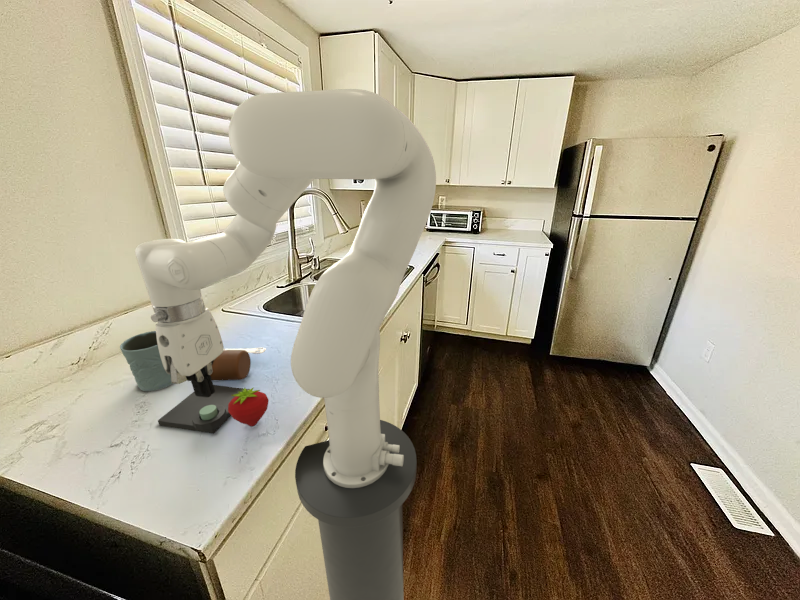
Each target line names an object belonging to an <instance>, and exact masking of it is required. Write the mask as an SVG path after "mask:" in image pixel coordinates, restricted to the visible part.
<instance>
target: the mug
mask: <svg viewBox="0 0 800 600" xmlns="http://www.w3.org/2000/svg"><path fill="white" fill-rule="evenodd" d="M251 363H252V361H251V356H250V353H248V352H247V351H245V350H223V352H222V353H221V354H220V355H219V356H218V357H217V358H216V359H215V360H214V362H213V365H212V370H213V372H212V374H211V375H210V376H211V379H212V382H213V381H214V382H215V381H217V382H218V381H242V380H245V379H246V378H247V377H248V375H249V374H250V370H251V365H252V364H251Z"/></svg>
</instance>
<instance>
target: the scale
mask: <svg viewBox="0 0 800 600" xmlns="http://www.w3.org/2000/svg"><path fill="white" fill-rule="evenodd" d="M213 386H214V389H215V392H214V393H213V394H211V396H210V397H200V396H196V395H195V392H194V391H193V392H192V393H191V394H189V395H188V396H187V397H186V398H184V399H182V401H180V402H179V403H178V404H177V405H175V406H174V407H173V408H171V409H170V410H169V411H167V412H166V413H165V414H164V415H163V416H161V418H159V419H157V423H158V426H159V427H164V428H165V427H166V428H173V429H179V430H186V431H192V432H197V433H207V434H213V435H214V434H215V433H216V432H217V431H218V430H219V429H221V427H223V425H224V424H225V423H226V422H227V421H228V420H229V419H230V418H232V416H231V415H230V413H229V412H228V404H229V403H230V401H231V400H232V399H233V398H234V397H235V396H231V395H234V394H238V393H239V392H242V391H243V390H244V388H245V387H244V388H243V387H234V386H228V385H227V386H226V385H219V384H213ZM242 388H243V390H242ZM246 389H247V391H248V390H250V389H251V388H246ZM208 405H215V406H216V408H217V412H218V414H217V416H215V417H214V418H212V419H209V420H202V419H201V416H200V413H199V412H200V410H201V409H202V408H203V407H205V406H208Z"/></svg>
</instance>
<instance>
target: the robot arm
mask: <svg viewBox="0 0 800 600" xmlns="http://www.w3.org/2000/svg"><path fill="white" fill-rule="evenodd" d="M228 141H229V145H230V149H231V151H232V153H233V155H234V157H235V159H236V160H237V161H238V164H237V165H236V167H235V168H234V169H233V171H232V172H231V174H230V175H229V176H228V177H227V178H226V180H225V182H224V184H223V189H222V191H223V196H224V198H225V201H226V202H227V203H228V205H229V206H230V208H231V209H232V210H233V211H234V212H235V213H236V215H235V216H234V218H233V219H232V220H231V222H230V223H229V224H228V226H226V228H225V229H224V230H223V231H222V232H221V233H219V234H214V235H210V236H206V237H201V238H197V239H195V240H194V239H193V240H190V241H185V240H183V239H180V238H161V239H153V240H147V241H144V242H141V243H139V244H138V245H137V246H136V247H135V248H134V255H135V259H136V261H137V264H138V267H139V270H140V274H141V276H142V280H143V283H144V286H145V289H146V292H147V295H148V298H149V300H150V303H151V307H152V311H153V314H151V316H150V319H151V322H153V323H156V324H155V331H156V337H157V344H158V349H159V353H160V357H161V360H162V364H163V366H164V369H165V371H166V373H167V374H171V382H172V383H173V384H175V385H180V384H183V383H185V382H191V386H192V389H193V392H195V395H196V396H200V397H210V396H211V394H213V393H214V392H215V389H214V386H213V385H214V382H213V381H212V379H211V376H210V375H211V374H212V372H213V370H212V365H213V362H214V360H215V359H216V358H217V357H218V356H219V355H220V354H221V353H222V352H223V350H224V349H225V348H224V342H223V339H222V335H221V332H220V330H219V327H218V324H217V322H216V320H215V318H214V315H213V314H212V312H211V311H210V308H208V307H206V305H205V301H204V298H203V295H202V289H206V288H208V287H211V286H213V285H215V284H217V283H219V282H221V281H223V280H226V279H229V278H231V277H233V276H236V275H238V274H240V273H242V272H244V271H245V270H247V269H248V268H249V267H250V266H251V265H252V264H253V263H254V262H255V261H256V260H257V259H258V258H259V257H260V256H261V254H262V253H263V252H264V251H265V250H266V249H267V248H268V247H269V245H270V244H271V242H272V240H273V238H274V235H275V233H276V230H277V224H278V222H279V220H280V219H281V218H282V217H283V216H284V215H285V214H286V212H288V210H289V209H290V208H291V207H292V205H293V204H294V203H295V202H296V201H297V200H298V198H299V197H300V196H301V195H302V194H303V193H304V192H305V190H307V188H309V186H310V185H311V184H312V183H313V182H314V181H315V180H359V181H360V180H364V181H365V180H374V182H375V183H374V189H373V192H372V195H371V197H370V199H369V201H368V203H367V205H366V207H365V208H364V209H365V210H364V212H363V215H362V217H361V220H360V222H359V226H358V229H357V232H356V234H355V237H354V239H353V242H352V244H351V247H350V248H349V250H348V252H347V253H346V255H344V256H343V257H342V258H340V259H339V260H338V261H336V262H335V263H333V264H332V265H330V266H329V267H328V268H327V269H326V270H325V271H323V273H322V274H321V275H320V276H319V278H318V279H317V281H316V282H315V284H314V286H313V287H312V290H311V293H310V295H309V297H308V300H307V303H306V307H305V309H304V313H303V316H302V318H301V321H300V325H299V327H298V331H297V334H296V336H295V339H294V343H293V347H292V349H291V355H290V369H291V373H292V376H293V378H294V381H295V382H296V384H297V385H298V386H299V387H300V389H301V390H303V391H304V392H305V393H306V394H308V395H310V396H312V397H315V398H318V399H319V398H320V399H324V407H325V416H326V426H327V433H328V434H327V435H328V440H329V443H330V446H329V447H328V448H327V450H326V452H325V454H324V459H323V465H324V471H325V473H326V476H327V477H328V478H329V479H330V480H331V481H332V482H333V483H335V484H337V485H339V486H341V487H345V488H360V487H363V486H367V485H369V484H371V483H373V482H375V481H376V480H378V479H379V478H380V477H381V476H382V475H383V474H384V472H385V471H386V469H387V467H388V465H389V464H392V465H395V466H401V467H402V466H403V461H404V455H400V454H390V453H389V451H391V452H395V453H399V449H400V445H391V444H388V442H385V434H381V431H380V420H381V411H380V381H379V377H380V376H379V367H380V366H379V363H380V349H381V331H380V327H381V326H382V323H383V321H384V319H385V317H386V315H387V314H388V312H389V311H390V309H391V307H392V305H393V304H394V302H395V300H396V298H397V296H398V294H399V290H400V287H401V285H402V282H403V279H404V277H405V274H406V272H407V269H408V268H409V265H410V262H411V260H412V258H413V256H414V254H415V251H416V249H417V247H418V244H419V241H420V239H421V237H422V234H423V232H424V229H425V227H426V225H427V222H428V220H429V217H430V214H431V211H432V209H433V204H434V201H435V196H436V190H437V172H436V165H435V160H434V156H433V154H432V151H431V149H430V147H429V145H428V143H427V141H426V139H425V138H424V136H423V134H422V133H421V132H420V130H419V129H418V128H417V127H416V125H415V124H414V123H413V122H412V120H411V119H410V118H409V116H407V115H406V114H405V113H404V112H402V110H400V109H399V108H397V107H396V106H395V105H394V104H392V103H391V101H389V100H387V98H385V97H383V96H382V95H380V94H378V93H376V92H373V91H370V90H366V89H359V88H337V89H322V90H321V89H319V90H306V91H305V90H304V91H303V90H302V91H283V92H282V91H281V92H269V93H268V92H267V93H259V94H256V95H252V96H250V97H248V98H247V99H245V100H243V101H242V102H241V103H239V105H238V106H237V107H236V108H235V110H234V111H233V113H232V116H231V117H230V121H229V125H228Z"/></svg>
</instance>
